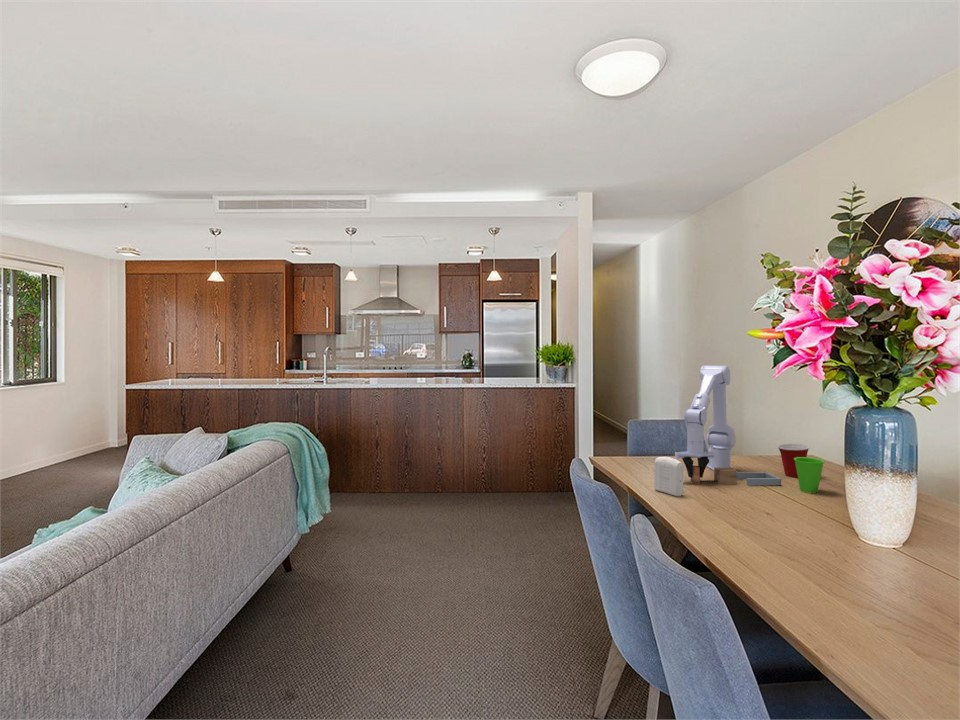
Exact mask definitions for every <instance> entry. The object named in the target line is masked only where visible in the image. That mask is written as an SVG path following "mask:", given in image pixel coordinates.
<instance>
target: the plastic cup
mask: <svg viewBox="0 0 960 720" xmlns="http://www.w3.org/2000/svg"><path fill="white" fill-rule="evenodd" d="M777 448H778V450H779V453H780V457H781V461H782V467H783V472H784V475H785V477H790V478H795V477H796V478H797V479H798V475H797V469H796V463H795V460H794V458H796V457H807V456H808V452H809V449H810V445H807V444H802V443H780V444H778V445H777Z"/></svg>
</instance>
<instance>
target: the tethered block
mask: <svg viewBox="0 0 960 720" xmlns="http://www.w3.org/2000/svg"><path fill="white" fill-rule="evenodd" d="M737 472H738V471H737V470H736V469H734V468H732V467H731V468H730V467H714V470H713V479H709V480H706V479H704V480H703V479H701V478H700V466H698V465H694V464H693V468H692V473H693V476H692V478H690V483H691V482H692V484H696V483H698V484H700V483H717V482H718V483H717V484H719V485H737V480H738V479H737Z"/></svg>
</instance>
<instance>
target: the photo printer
mask: <svg viewBox="0 0 960 720" xmlns="http://www.w3.org/2000/svg"><path fill="white" fill-rule="evenodd" d="M683 464H684V463H683V462H681V461H680V460H678V459H677V458H675V457H670V456H659V457H656V458H655V460H654V490H655V491H659V492H662V493H665V494H668V495H671V496H676V497H681V495H682V496H683V494H684V465H683Z"/></svg>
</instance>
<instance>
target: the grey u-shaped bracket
mask: <svg viewBox="0 0 960 720" xmlns="http://www.w3.org/2000/svg"><path fill="white" fill-rule="evenodd" d="M737 480H746V486H747V485H748V486H747V487H757V486H756V485H781V486H782V478H780V477H778V476H776V475H774V474H772V473H769V472H768V471H757V472H756V471H754V472H753V471H751V472H750V471H749V472H748V471H742V472H741V471H737Z"/></svg>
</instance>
